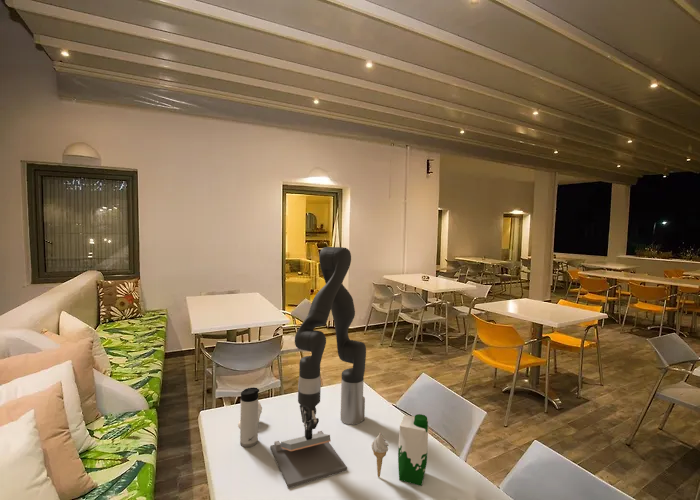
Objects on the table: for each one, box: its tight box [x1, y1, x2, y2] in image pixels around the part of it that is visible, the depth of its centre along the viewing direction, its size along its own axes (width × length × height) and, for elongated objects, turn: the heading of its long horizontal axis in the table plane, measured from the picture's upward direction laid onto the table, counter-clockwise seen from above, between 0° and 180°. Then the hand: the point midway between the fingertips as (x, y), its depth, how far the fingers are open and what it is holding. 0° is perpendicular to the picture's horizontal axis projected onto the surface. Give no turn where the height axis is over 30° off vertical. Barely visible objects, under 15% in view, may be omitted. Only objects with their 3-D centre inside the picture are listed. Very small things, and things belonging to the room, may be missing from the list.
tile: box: [280, 432, 332, 451], centre depth 127 cm, size 14×2×12 cm
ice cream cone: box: [370, 431, 389, 478], centre depth 117 cm, size 6×6×15 cm
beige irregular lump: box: [237, 401, 263, 430], centre depth 146 cm, size 6×8×12 cm
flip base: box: [269, 430, 348, 489], centre depth 125 cm, size 20×22×3 cm
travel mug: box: [239, 387, 260, 448], centre depth 134 cm, size 6×7×20 cm
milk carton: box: [397, 413, 429, 487], centre depth 117 cm, size 9×9×20 cm
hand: (308, 438), depth 124 cm, fingers closed
